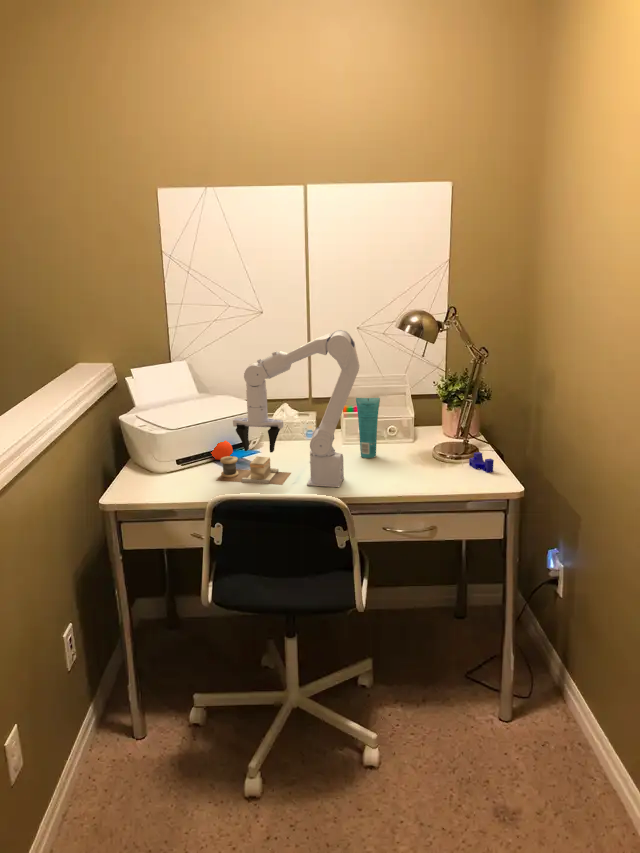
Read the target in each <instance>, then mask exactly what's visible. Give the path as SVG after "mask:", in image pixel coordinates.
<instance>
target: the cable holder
mask: <svg viewBox="0 0 640 853" xmlns="http://www.w3.org/2000/svg"><path fill="white" fill-rule="evenodd" d="M494 461H495V460H494V459H492V458H485V459H484V458H483V453H482V452H481V451H478V452H473V457H469V458H468V465H469V466H470V467H472V468H473V469H474V470H479V469H480V470H481V471H483V472H485V473H486V474H489V473H494Z"/></svg>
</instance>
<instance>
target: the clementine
mask: <svg viewBox="0 0 640 853" xmlns="http://www.w3.org/2000/svg"><path fill="white" fill-rule="evenodd" d="M232 453H234V450H233V446H232V444H231V443H230V442H228V441H227V440H225V441H224V442H220V443H218V444H217V446H216V447H215V448H214V450H213V451H212V452H211V451H210V454H212V455H211V456H213V457H215V459H214V460H219V461H220V459H221V458H223V457H226V456H230V455H231V454H232ZM232 455H233V454H232ZM213 457H212V458H213Z"/></svg>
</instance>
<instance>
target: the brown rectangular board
mask: <svg viewBox="0 0 640 853" xmlns="http://www.w3.org/2000/svg"><path fill="white" fill-rule="evenodd" d="M236 471H238V476H236V477H233V478H224V477H222V476H221V475H220V476H219V477H217V478H216V480H215V481H218V482H233V483H245V484H246V483H247V484H248V483H249V484H261V485H262V484H264V485H278V486H279V485H280V486H283V485H284V483H285V482H286V481H287V479H288V478H290V476H291V474H292V472H289V471H288V472H287V471H280V470H279V468H271V467H270V472H271V473H270V474H269V476H268V477H267V478H266V479H257V478H251V471H250V469H238V468H236Z"/></svg>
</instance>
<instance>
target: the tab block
mask: <svg viewBox="0 0 640 853" xmlns="http://www.w3.org/2000/svg"><path fill="white" fill-rule="evenodd" d="M270 468H271V458H270V456H256V457H255V458H254V459H253V460H251V462H249V470H250V471H251V478H257V479H266V478H267V477H268V476H269V474H270V473H271V472H270Z"/></svg>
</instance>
